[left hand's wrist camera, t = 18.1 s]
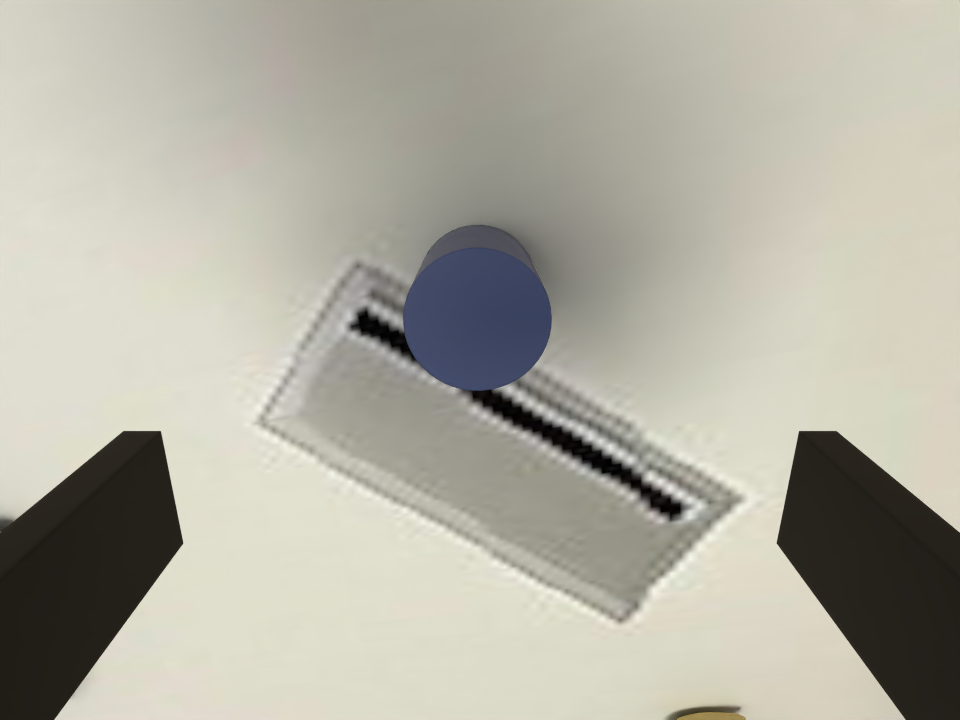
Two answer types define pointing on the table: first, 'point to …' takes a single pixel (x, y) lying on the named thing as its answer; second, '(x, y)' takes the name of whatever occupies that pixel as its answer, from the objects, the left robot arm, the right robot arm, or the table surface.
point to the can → (477, 310)
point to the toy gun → (712, 716)
